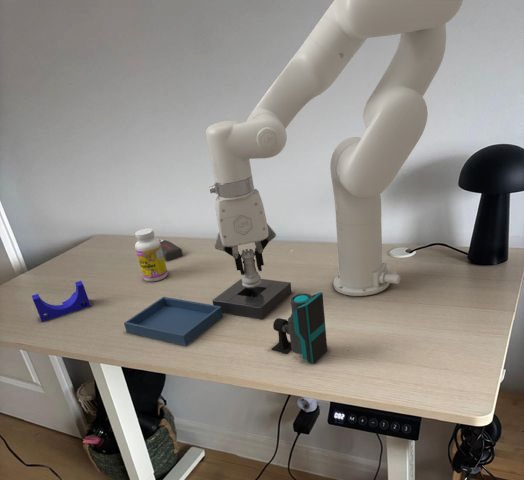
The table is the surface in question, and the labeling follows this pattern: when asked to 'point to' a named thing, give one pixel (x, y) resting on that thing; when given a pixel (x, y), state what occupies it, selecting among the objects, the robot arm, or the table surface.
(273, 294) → the square hole block
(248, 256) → the rook chess piece
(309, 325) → the surveillance camera
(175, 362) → the table surface
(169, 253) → the usb drive
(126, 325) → the basin tray
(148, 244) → the supplement bottle
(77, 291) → the blue curved cradle bracket
